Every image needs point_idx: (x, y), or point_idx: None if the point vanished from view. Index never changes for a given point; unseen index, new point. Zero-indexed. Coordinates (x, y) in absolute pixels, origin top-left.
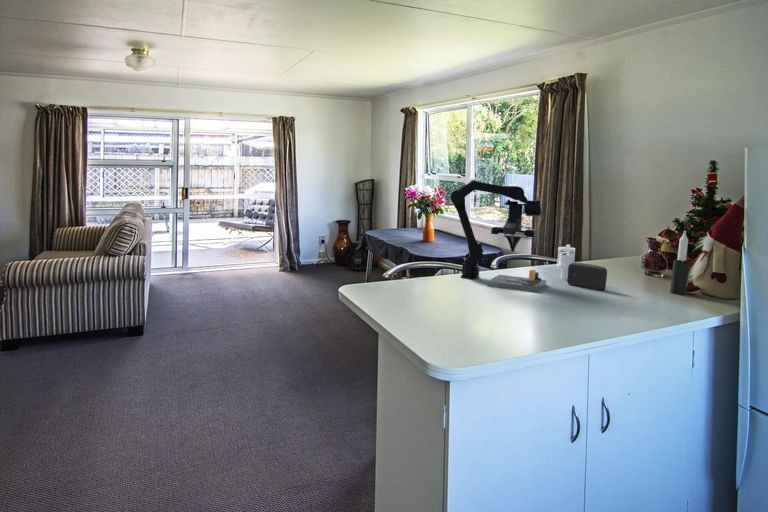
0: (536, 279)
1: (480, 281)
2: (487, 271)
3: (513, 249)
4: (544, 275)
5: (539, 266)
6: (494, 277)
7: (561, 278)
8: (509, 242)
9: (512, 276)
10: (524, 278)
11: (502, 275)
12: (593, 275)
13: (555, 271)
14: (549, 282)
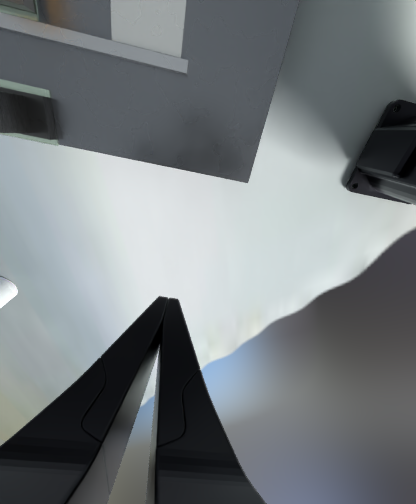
0: (2, 88)
1: (359, 49)
2: (292, 306)
3: (152, 310)
4: (89, 315)
5: (142, 402)
6: (279, 60)
7: (6, 282)
8: (199, 397)
9: (172, 157)
10: (94, 124)
11: (230, 162)
12: None
13: (82, 370)
14: (13, 202)
